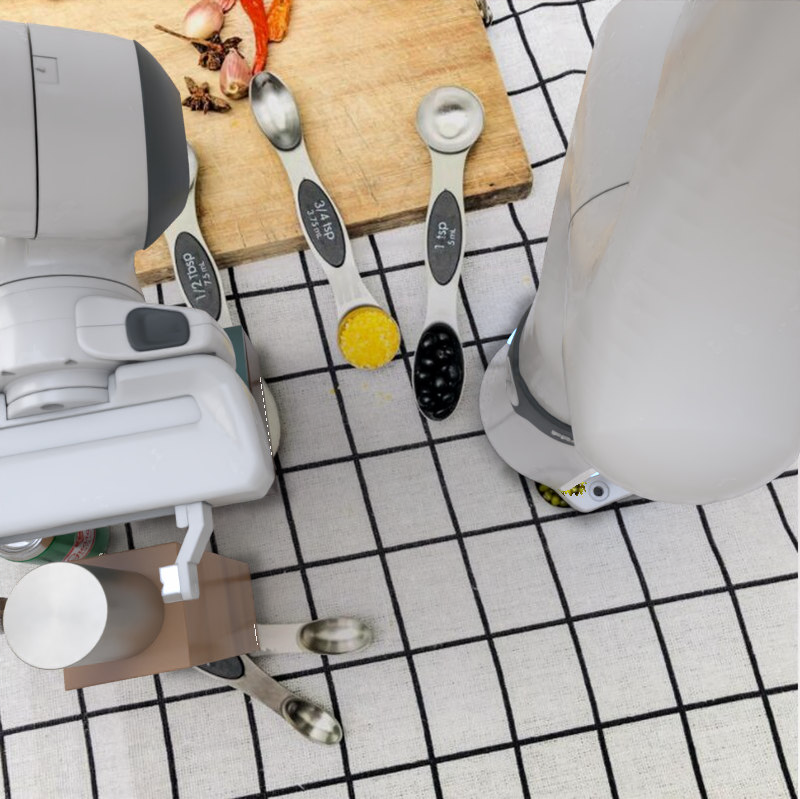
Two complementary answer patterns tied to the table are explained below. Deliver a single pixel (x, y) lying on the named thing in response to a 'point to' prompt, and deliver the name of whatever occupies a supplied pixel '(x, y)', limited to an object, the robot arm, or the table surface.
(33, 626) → the tin
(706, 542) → the table surface
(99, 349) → the robot arm
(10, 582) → the table surface
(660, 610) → the table surface
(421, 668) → the table surface
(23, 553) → the soda can
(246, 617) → the stand
